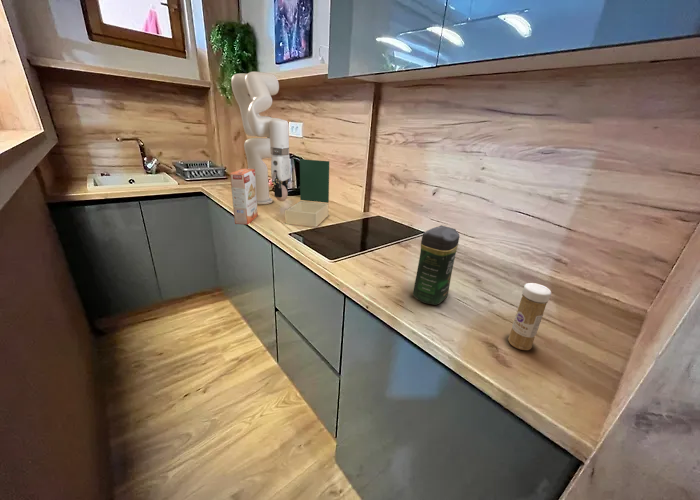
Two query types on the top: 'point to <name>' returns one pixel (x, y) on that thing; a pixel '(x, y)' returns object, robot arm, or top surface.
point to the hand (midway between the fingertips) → (281, 194)
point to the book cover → (314, 180)
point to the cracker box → (244, 195)
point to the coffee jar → (435, 264)
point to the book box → (306, 213)
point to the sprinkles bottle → (529, 315)
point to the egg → (283, 194)
